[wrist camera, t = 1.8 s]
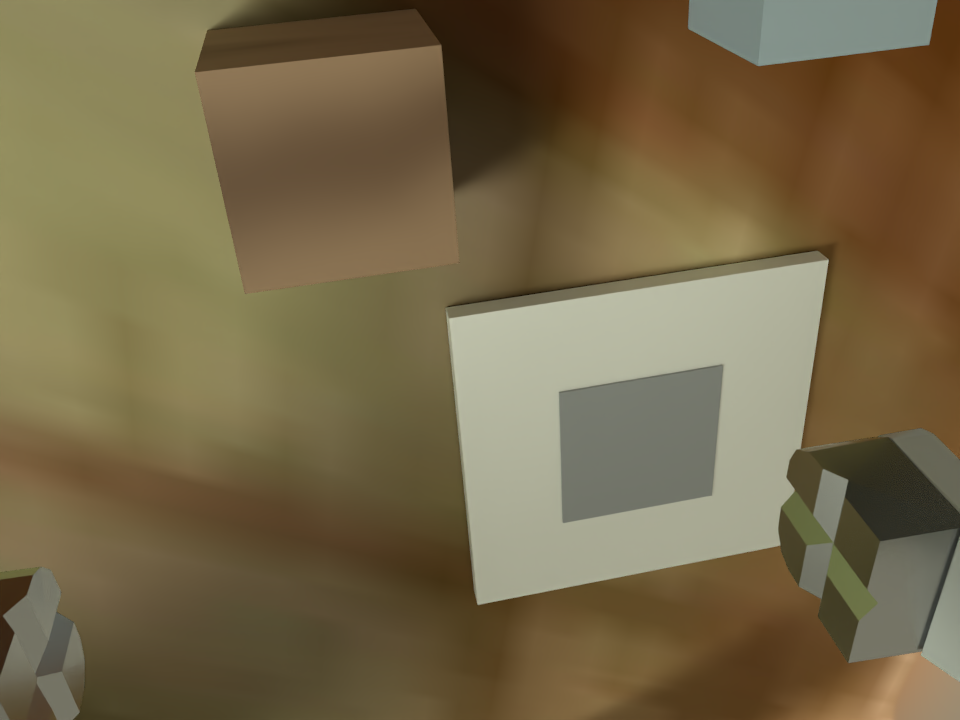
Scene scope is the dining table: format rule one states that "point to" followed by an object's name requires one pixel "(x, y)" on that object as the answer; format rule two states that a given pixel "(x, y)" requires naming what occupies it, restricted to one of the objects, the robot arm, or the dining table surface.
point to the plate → (631, 421)
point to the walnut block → (331, 147)
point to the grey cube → (811, 27)
